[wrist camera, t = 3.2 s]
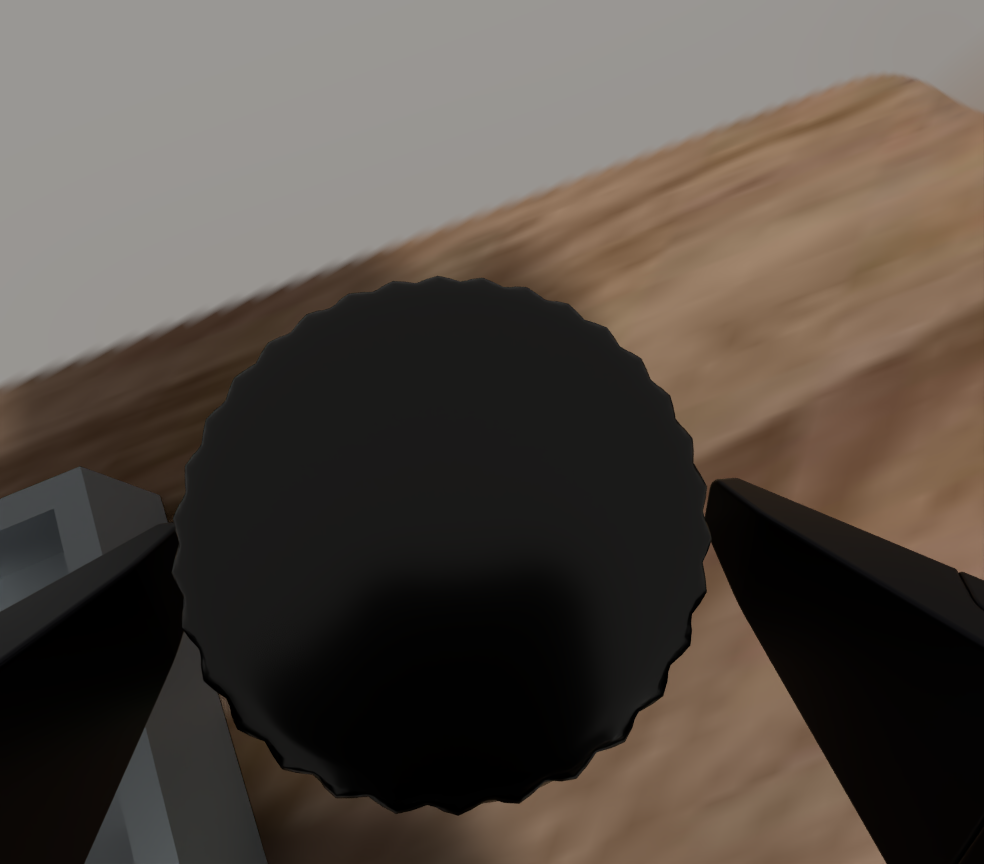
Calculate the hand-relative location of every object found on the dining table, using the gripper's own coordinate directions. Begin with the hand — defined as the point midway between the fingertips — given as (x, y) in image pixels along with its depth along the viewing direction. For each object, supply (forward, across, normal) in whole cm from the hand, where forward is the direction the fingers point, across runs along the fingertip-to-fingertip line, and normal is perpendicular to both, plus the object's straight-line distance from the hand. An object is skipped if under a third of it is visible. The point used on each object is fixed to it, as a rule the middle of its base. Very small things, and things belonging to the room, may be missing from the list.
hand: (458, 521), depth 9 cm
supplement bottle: (+5, 0, +6) cm, 8 cm away
